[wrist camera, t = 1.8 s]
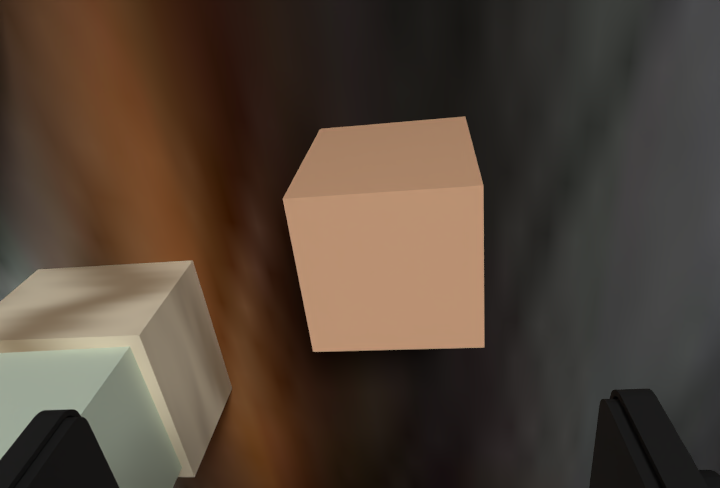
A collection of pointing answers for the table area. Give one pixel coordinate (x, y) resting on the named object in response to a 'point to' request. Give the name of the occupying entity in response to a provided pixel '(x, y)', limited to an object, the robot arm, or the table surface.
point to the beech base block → (132, 336)
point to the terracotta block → (390, 237)
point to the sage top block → (92, 408)
